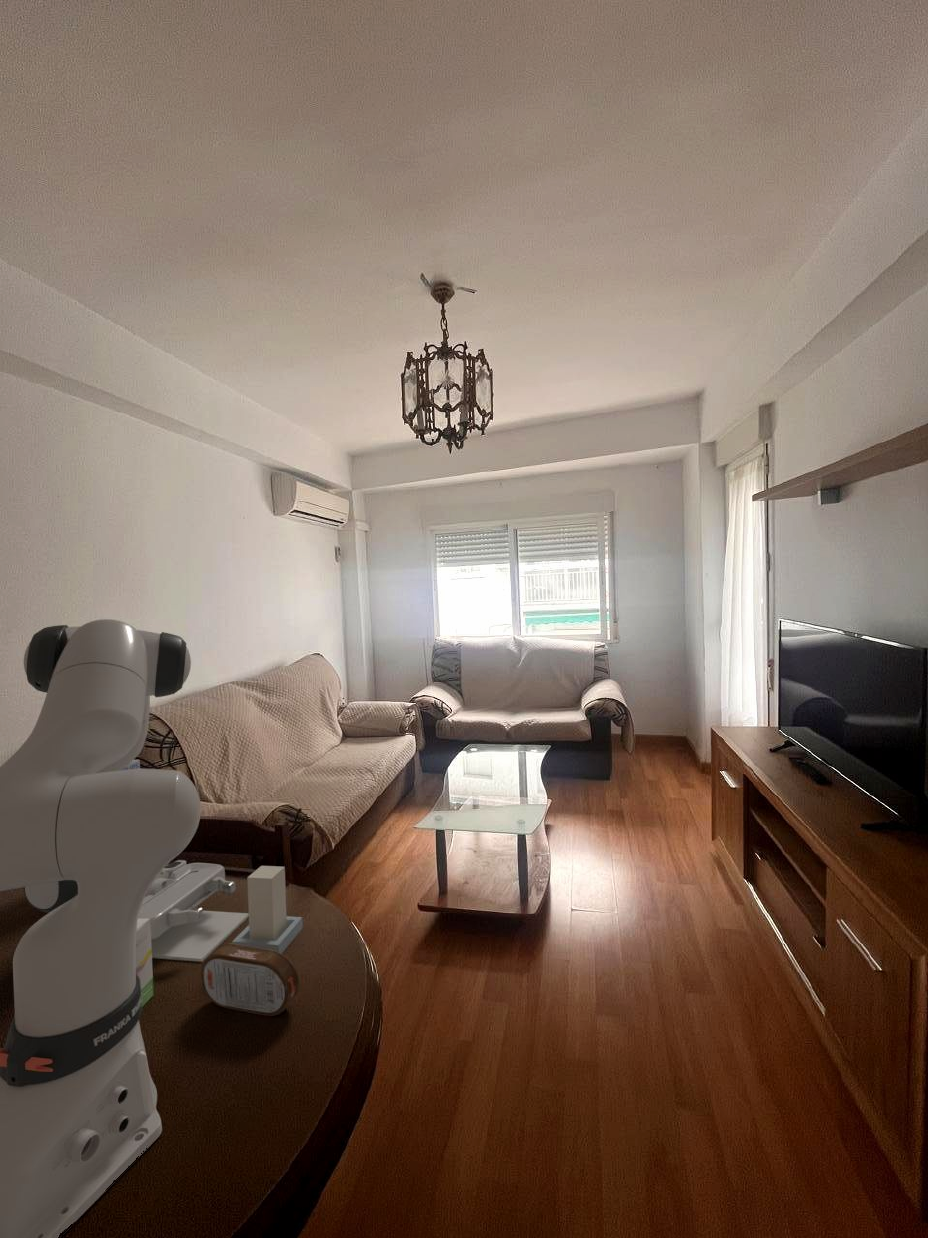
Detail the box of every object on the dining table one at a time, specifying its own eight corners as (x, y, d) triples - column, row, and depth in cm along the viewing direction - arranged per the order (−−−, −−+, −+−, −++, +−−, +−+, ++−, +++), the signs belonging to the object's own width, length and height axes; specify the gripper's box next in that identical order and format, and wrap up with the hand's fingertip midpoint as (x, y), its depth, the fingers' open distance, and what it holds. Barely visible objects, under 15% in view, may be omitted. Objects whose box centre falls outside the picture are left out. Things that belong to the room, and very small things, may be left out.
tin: (301, 1009, 79) (299, 950, 79) (288, 1024, 76) (286, 964, 76) (213, 993, 83) (211, 937, 83) (198, 1007, 80) (195, 950, 80)
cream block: (274, 949, 94) (271, 878, 94) (249, 947, 95) (247, 877, 95) (287, 934, 98) (284, 866, 98) (263, 932, 99) (261, 865, 99)
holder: (279, 957, 92) (278, 945, 92) (232, 953, 93) (232, 941, 93) (302, 928, 100) (302, 917, 100) (259, 925, 102) (259, 914, 102)
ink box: (156, 995, 83) (152, 897, 83) (133, 1019, 78) (129, 915, 78) (102, 993, 84) (99, 896, 84) (76, 1016, 79) (72, 913, 79)
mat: (202, 962, 91) (201, 959, 91) (127, 955, 94) (127, 953, 94) (249, 916, 105) (249, 913, 105) (183, 912, 107) (183, 909, 107)
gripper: (100, 909, 90) (176, 914, 88) (184, 856, 110) (248, 858, 108) (102, 948, 90) (178, 954, 88) (186, 887, 110) (249, 891, 108)
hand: (217, 901), depth 98 cm, fingers open, 8 cm apart
